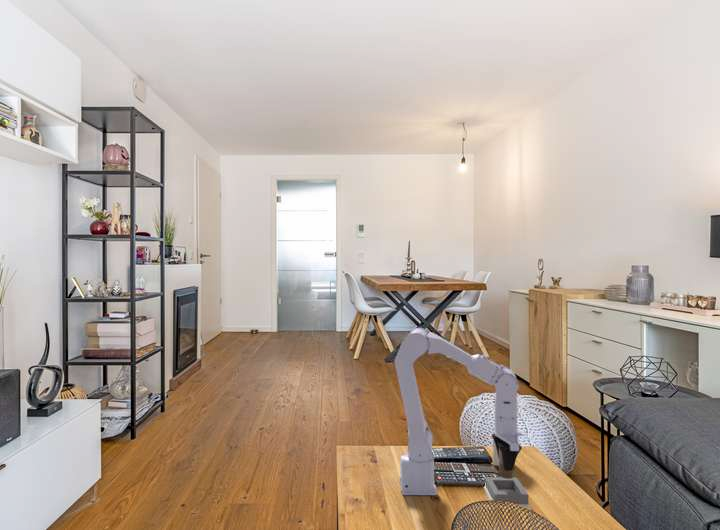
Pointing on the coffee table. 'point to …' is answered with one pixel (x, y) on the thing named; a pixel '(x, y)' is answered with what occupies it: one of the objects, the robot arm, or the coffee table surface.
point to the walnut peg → (501, 469)
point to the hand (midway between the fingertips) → (506, 466)
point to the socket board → (506, 491)
